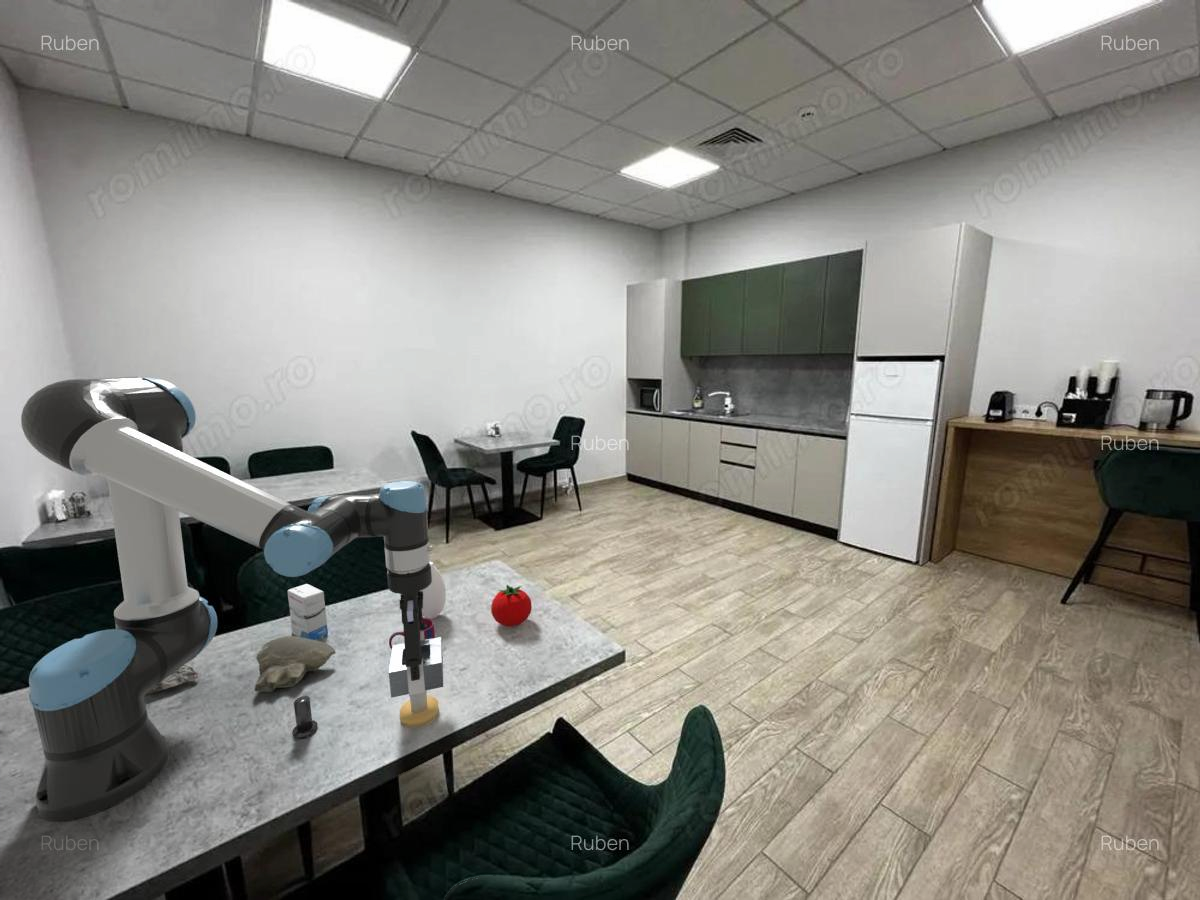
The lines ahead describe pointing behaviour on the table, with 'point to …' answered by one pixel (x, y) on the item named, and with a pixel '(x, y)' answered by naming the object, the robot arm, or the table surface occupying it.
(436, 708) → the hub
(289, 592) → the ink box
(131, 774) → the robot arm
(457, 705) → the table surface
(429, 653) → the grey square bin
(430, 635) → the mug
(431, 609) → the white vase
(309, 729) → the dark grey round-topped piece
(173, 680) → the mineral rock
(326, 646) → the fossil
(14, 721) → the table surface
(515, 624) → the tomato
